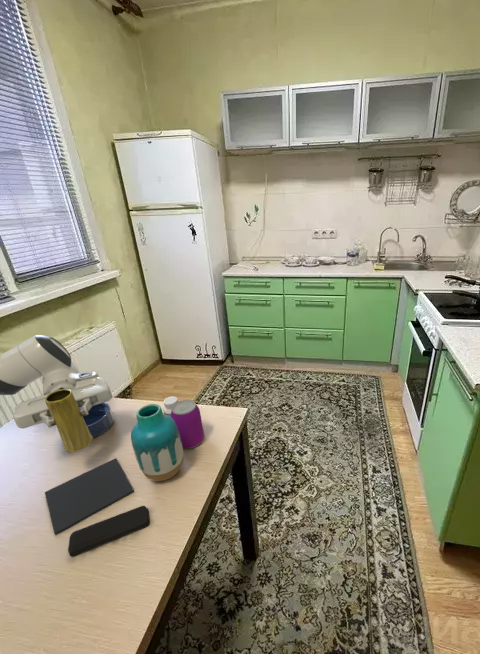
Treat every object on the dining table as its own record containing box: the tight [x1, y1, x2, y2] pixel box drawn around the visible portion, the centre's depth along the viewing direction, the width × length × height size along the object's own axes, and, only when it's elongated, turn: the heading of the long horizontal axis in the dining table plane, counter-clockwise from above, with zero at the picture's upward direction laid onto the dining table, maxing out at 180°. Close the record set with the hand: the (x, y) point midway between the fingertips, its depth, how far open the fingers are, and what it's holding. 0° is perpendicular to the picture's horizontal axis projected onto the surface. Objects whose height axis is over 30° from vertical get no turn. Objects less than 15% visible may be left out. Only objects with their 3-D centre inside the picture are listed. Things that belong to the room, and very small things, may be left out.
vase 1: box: [45, 389, 94, 453], centre depth 76 cm, size 6×6×14 cm
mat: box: [44, 457, 135, 536], centre depth 77 cm, size 16×14×1 cm
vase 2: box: [130, 403, 184, 482], centre depth 77 cm, size 11×11×19 cm
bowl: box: [83, 402, 115, 438], centre depth 97 cm, size 13×13×4 cm
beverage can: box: [170, 399, 205, 449], centre depth 89 cm, size 8×8×12 cm
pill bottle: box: [162, 396, 179, 417], centre depth 96 cm, size 5×5×9 cm
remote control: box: [67, 505, 151, 558], centre depth 67 cm, size 5×2×15 cm
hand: (68, 418), depth 75 cm, fingers closed on vase 1, 5 cm apart
